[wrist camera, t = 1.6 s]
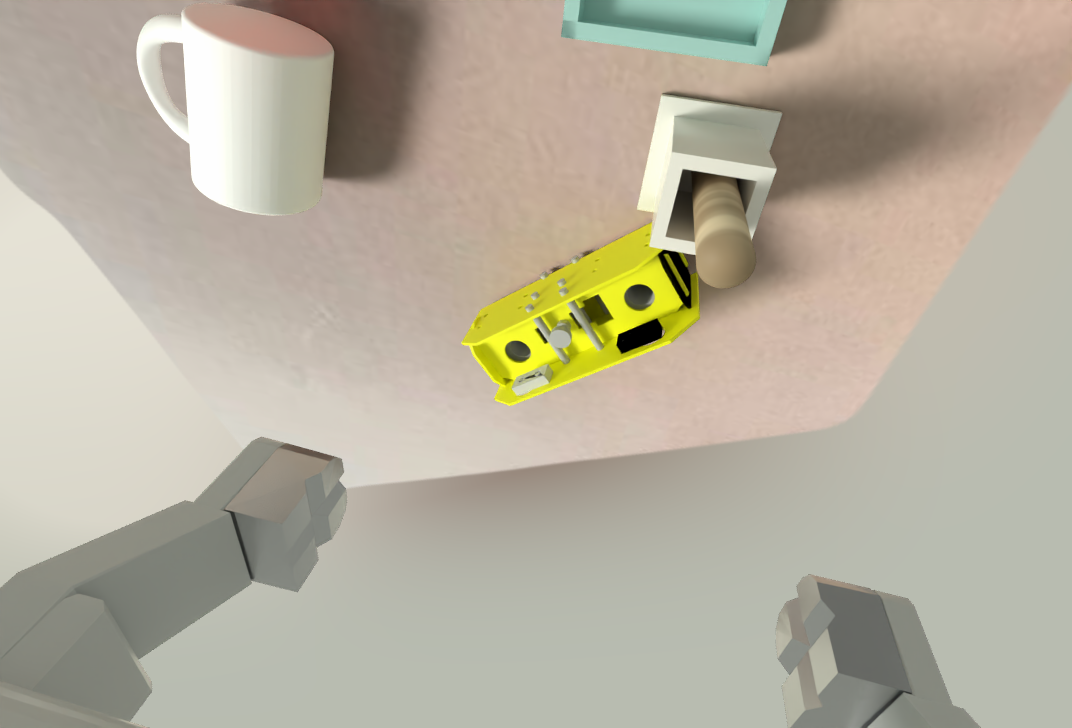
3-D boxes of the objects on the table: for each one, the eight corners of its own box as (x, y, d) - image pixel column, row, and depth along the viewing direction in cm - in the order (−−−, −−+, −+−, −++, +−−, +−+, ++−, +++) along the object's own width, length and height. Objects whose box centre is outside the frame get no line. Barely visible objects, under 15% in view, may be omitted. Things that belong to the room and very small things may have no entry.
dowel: (673, 139, 34) (706, 233, 23) (735, 148, 34) (800, 246, 23) (663, 179, 35) (690, 285, 24) (724, 187, 35) (779, 297, 24)
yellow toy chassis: (520, 354, 47) (494, 418, 40) (481, 301, 45) (446, 360, 38) (700, 274, 40) (703, 337, 33) (664, 206, 37) (660, 259, 31)
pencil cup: (661, 93, 33) (656, 127, 27) (780, 111, 33) (806, 150, 26) (637, 206, 38) (627, 260, 31) (742, 224, 37) (756, 284, 30)
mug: (357, 47, 36) (287, 65, 29) (341, 190, 42) (280, 230, 35) (181, -28, 35) (72, -26, 29) (191, 128, 41) (102, 157, 35)
